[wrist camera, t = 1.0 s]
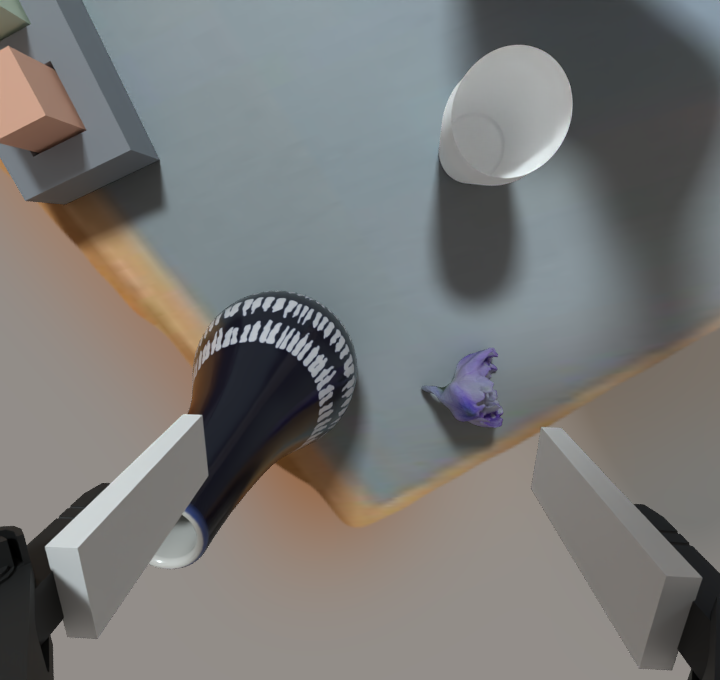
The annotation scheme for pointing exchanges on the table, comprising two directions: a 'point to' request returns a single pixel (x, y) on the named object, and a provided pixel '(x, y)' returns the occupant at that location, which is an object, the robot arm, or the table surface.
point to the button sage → (11, 18)
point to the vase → (259, 402)
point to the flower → (472, 391)
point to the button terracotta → (34, 104)
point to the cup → (505, 117)
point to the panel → (77, 109)
